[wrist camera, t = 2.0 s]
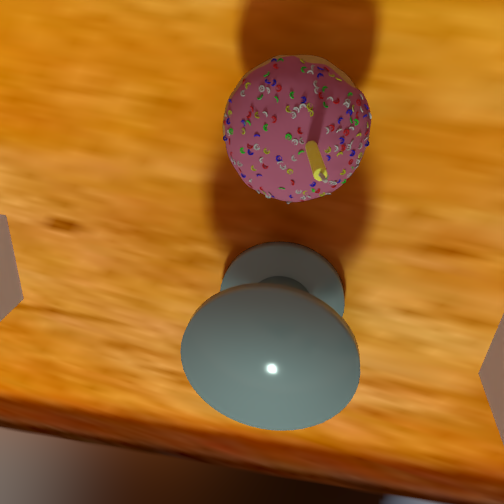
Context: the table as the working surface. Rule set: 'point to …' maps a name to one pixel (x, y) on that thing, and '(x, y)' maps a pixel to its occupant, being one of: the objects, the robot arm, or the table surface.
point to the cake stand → (274, 341)
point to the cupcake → (296, 127)
